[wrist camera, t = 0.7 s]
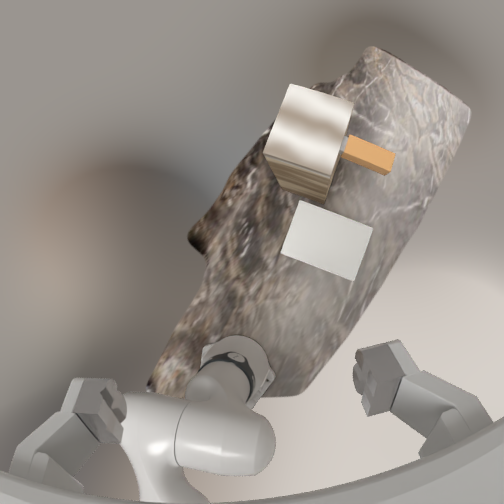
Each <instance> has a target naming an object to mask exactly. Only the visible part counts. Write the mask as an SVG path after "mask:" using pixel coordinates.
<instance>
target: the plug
mask: <svg viewBox="0 0 504 504" xmlns="http://www.w3.org/2000/svg"><path fill="white" fill-rule="evenodd" d="M339 154H342V155H341V158H344V159H346V160H349V161H351V162H354V163H356V164H359V165H361V166H364V167H366V168H368V169H371V170H373V171H375V172H378V173H380V174H382V175H386V174H388V173H389V172H391V168H392V165H393V161H394V158H395V153H392V152H390V151H388V150H386V149H383V148H381V147H379V146H376V145H374V144H372V143H369V142H367V141H365V140H362V139H360V138H357V137H355V136H352V135H349V137H346V136H344V138H343V141H342V144H341V148H340V150H339Z"/></svg>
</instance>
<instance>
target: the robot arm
mask: <svg viewBox="0 0 504 504" xmlns="http://www.w3.org/2000/svg"><path fill="white" fill-rule="evenodd" d="M355 359H356V361H357V364H356V365H355V366H354V367H353V381H354V385H355V388H356V390H357V392H358V393H359V394H361V395H363V397H362V401H361V403H362V405H363V407H364V410H365V412H366V414H367V416H372V415H376V414H379V413H384V412H387V411H390V412H391V413H393V414H394V415H395V416H397V417H398V418H399V419H401V420H402V421H403V422H405V423H406V424H408V425H409V426H410V427H411V428H413V429H414V430H416V431H417V432H418V433H420V434H421V435H423V436H424V437H425V438H427V439H426V441H425V443H424V444H423V446H422V447H421V449H420V451H419V455H420V458H421V459H418V460H416V461H413V462H411V463H408V464H405V465H403V466H400V467H397V468H395V469H392V470H389V471H386V472H383V473H380V474H376V475H373V476H370V477H367V478H364V479H360V480H357V481H353V482H349V483H345V484H342V485H337V486H333V487H329V488H325V489H320V490H315V491H311V492H305V493H300V494H294V495H288V496H282V497H275V498H267V499H259V500H250V501H238V502H223V503H210V502H209V501H208V499H207V498H206V497H205V496H204V495H203V494H202V493H201V492H199V491H198V490H197V489H195V488H194V487H193V486H192V485H191V484H190V483H189V482H188V481H187V479H186V477H185V475H184V471H183V467H186V468H190V469H194V470H198V471H203V472H207V473H212V474H217V475H222V476H252V475H257V474H258V473H260V472H261V471H262V470H264V469H265V468H266V466H267V465H268V464H269V463H270V461H271V459H272V457H273V455H274V452H275V446H276V440H275V434H274V431H273V428H272V426H271V424H270V423H269V421H268V420H267V419H266V418H265V417H264V416H262V415H260V414H258V413H255V412H254V411H252V410H251V409H252V408H253V407H254V406H255V404H256V403H257V401H258V400H259V399H260V397H261V396H262V395H263V394H264V392H265V391H266V390H267V388H268V387H269V386H270V384H271V383H272V382H273V380H274V379H275V373H274V372H273V370H272V369H271V367H270V366H269V363H268V358H267V355H266V353H265V351H264V350H263V348H262V347H261V346H260V345H259V344H258V343H257V342H255V341H254V340H252V339H250V338H248V337H245V336H239V335H234V336H228V337H225V338H223V339H222V340H220V341H219V342H217V343H213V344H207V345H205V346H204V348H203V351H202V358H201V366H200V369H199V371H198V373H197V375H196V376H195V377H194V378H193V379H192V380H191V381H190V382H189V383H188V385H187V388H186V392H185V399H182V398H177V397H173V396H168V395H164V394H159V393H153V392H127V393H125V394H124V395H123V394H122V393H120V392H119V391H117V390H116V389H117V384H116V383H115V381H114V379H102V378H100V379H99V378H74V379H73V380H72V382H71V384H70V387H69V389H68V392H67V395H66V397H65V400H64V402H63V405H62V408H61V411H60V412H56V413H55V414H54V415H53V416H51V417H50V418H49V419H48V420H47V421H46V422H44V423H43V424H42V425H41V426H40V427H39V428H37V429H36V430H35V431H34V432H33V433H32V434H31V435H29V436H28V437H27V438H26V439H25V440H24V441H22V442H21V443H20V444H19V445H18V446H17V448H16V451H15V454H14V457H13V460H12V463H11V466H10V469H9V472H8V473H6V472H3V471H0V504H504V417H502V418H501V419H499V420H497V421H496V422H494V423H493V421H492V420H491V418H490V416H489V415H488V413H487V412H486V410H485V408H484V407H483V406H482V404H481V402H480V401H479V399H478V398H477V396H475V395H473V394H471V393H469V392H466V391H465V390H462V389H461V388H458V387H456V386H454V385H452V384H450V383H448V382H446V381H444V380H442V379H440V378H438V377H436V376H434V375H432V374H430V373H428V372H426V371H424V370H423V371H420V370H419V368H418V367H417V365H416V364H415V362H414V361H413V359H412V358H411V356H410V354H409V353H408V351H407V350H406V348H405V347H404V346H403V344H402V342H401V341H400V340H398V339H397V340H394V341H390V342H386V343H382V344H378V345H374V346H370V347H366V348H362V349H358V350H357V352H356V355H355ZM266 379H268V380H269V381H266ZM100 443H117V444H120V445H121V446H122V448H123V449H124V451H125V452H126V454H127V456H128V458H129V459H130V462H131V464H132V466H133V469H134V471H135V475H136V477H137V482H138V487H139V494H140V495H139V496H140V498H139V501H133V500H124V499H115V498H108V497H101V496H95V495H90V494H84V493H83V491H84V487H83V485H82V484H81V483H80V482H78V481H77V480H76V479H75V478H74V476H75V475H76V473H77V472H78V471H79V470H80V468H81V467H82V466H83V465H84V463H85V462H86V461H87V460H88V459H89V457H90V456H91V455H92V454H93V452H94V451H95V450H96V449H97V447H98V446H99V445H100Z"/></svg>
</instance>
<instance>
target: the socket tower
mask: <svg viewBox="0 0 504 504" xmlns="http://www.w3.org/2000/svg"><path fill="white" fill-rule="evenodd" d="M353 107H354V103H352V102H349V101H347V100H344V99H341V98H338V97H334V96H331V95H328V94H325V93H322V92H318V91H315V90H311V89H308V88H304V87H301V86H297V85H293V84H290V85H289V88H288V91H287V93H286V95H285V98H284V100H283V103H282V105H281V108H280V111H279V113H278V115H277V118H276V120H275V123H274V126H273V128H272V131H271V133H270V136H269V138H268V141H267V143H266V146H265V149H264V151H263V154H264V156H265V158H266V159H267V161H268V163H269V165H270V167H271V169H272V171H273V173H274V175H275V176H276V178H277V180H278V182H279V184H280V186H281V188H282V189H283V190H285V191H288V192H291V193H294V194H297V195H300V196H302V197H305V198H308V199H311V200H313V201H316V202H319V203H321V204H324V202H325V200H326V197H327V194H328V191H329V188H330V185H331V182H332V180H333V177H334V174H335V171H336V168H337V165H338V162H339V159H340V156H341V154H339V150H340V148H341V144H342V141H343V138H344V136H346V134H347V130H348V126H349V123H350V119H351V115H352V111H353Z"/></svg>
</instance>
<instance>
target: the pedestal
mask: <svg viewBox="0 0 504 504" xmlns="http://www.w3.org/2000/svg"><path fill="white" fill-rule="evenodd" d="M372 231H373V228H372V227H369V226H367V225H364V224H362V223H359V222H357V221H354V220H351V219H349V218H346V217H344V216H341V215H339V214H336V213H333V212H331V211H328V210H325V209H323V208H320V207H317V206H315V205H312V204H309V203H307V202H304V201H301V200H300V201H299V204H298V207H297V209H296V212H295V215H294V217H293V220H292V223H291V226H290V228H289V231H288V234H287V236H286V239H285V242H284V244H283V247H282V250H281V252H280V253H281V254H284V255H286V256H289V257H292V258H294V259H297V260H299V261H302V262H304V263H307V264H310V265H312V266H315V267H317V268H320V269H323V270H325V271H328V272H330V273H333V274H335V275H338V276H341V277H343V278H346V279H348V280H351V281H353V282H354V280H355V277H356V275H357V272H358V269H359V267H360V264H361V261H362V259H363V256H364V253H365V251H366V248H367V245H368V242H369V240H370V237H371V234H372Z"/></svg>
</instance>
